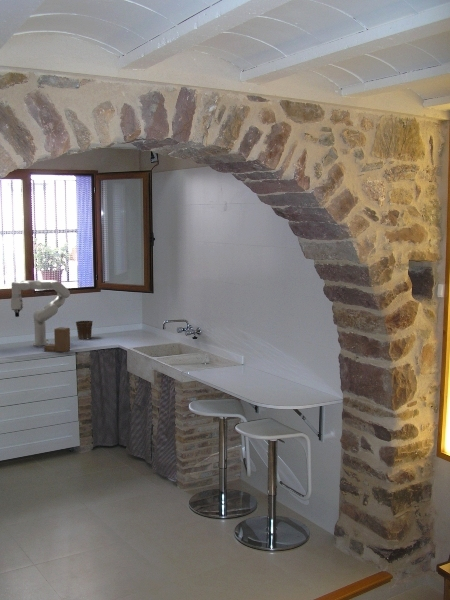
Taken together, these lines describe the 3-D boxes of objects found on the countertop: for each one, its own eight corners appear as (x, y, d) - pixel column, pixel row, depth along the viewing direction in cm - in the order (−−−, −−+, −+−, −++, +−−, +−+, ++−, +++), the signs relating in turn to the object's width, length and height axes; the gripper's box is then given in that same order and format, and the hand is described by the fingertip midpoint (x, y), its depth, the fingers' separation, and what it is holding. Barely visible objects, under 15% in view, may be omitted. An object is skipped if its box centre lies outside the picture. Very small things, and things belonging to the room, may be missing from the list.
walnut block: (50, 349, 588) (50, 343, 587) (60, 350, 585) (60, 344, 584) (44, 351, 578) (44, 345, 578) (54, 352, 575) (54, 346, 575)
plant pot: (72, 338, 641) (72, 321, 639) (86, 336, 653) (85, 320, 651) (82, 340, 631) (82, 323, 629) (96, 338, 643) (96, 321, 641)
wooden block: (64, 352, 572) (64, 329, 570) (54, 351, 575) (53, 328, 572) (70, 350, 581) (70, 327, 579) (60, 349, 584) (59, 327, 582)
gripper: (26, 295, 594) (26, 316, 596) (12, 295, 599) (12, 315, 601) (20, 296, 587) (21, 317, 589) (6, 296, 592) (7, 316, 594)
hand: (17, 316), depth 595 cm, fingers closed
